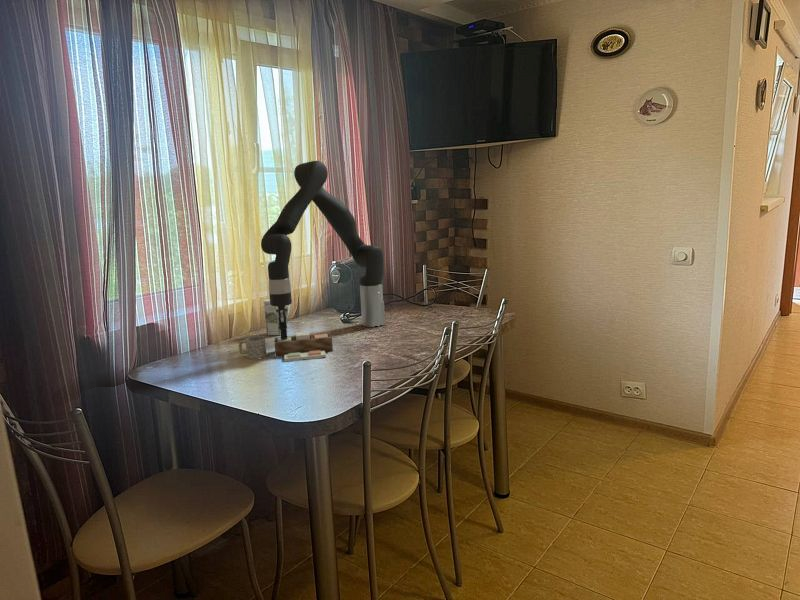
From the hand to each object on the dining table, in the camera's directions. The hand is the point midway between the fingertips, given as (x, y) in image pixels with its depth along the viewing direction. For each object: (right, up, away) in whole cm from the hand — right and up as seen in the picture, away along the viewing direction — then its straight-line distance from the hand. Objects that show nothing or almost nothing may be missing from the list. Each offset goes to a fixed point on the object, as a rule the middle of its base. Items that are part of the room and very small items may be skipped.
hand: (284, 339), depth 204 cm
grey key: (+6, -1, +1) cm, 7 cm away
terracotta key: (+13, -2, +3) cm, 13 cm away
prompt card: (+8, -6, -5) cm, 12 cm away
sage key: (0, -2, +1) cm, 3 cm away
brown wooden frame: (+7, -4, +2) cm, 8 cm away
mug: (-11, -6, -1) cm, 13 cm away
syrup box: (-9, 0, +28) cm, 30 cm away
